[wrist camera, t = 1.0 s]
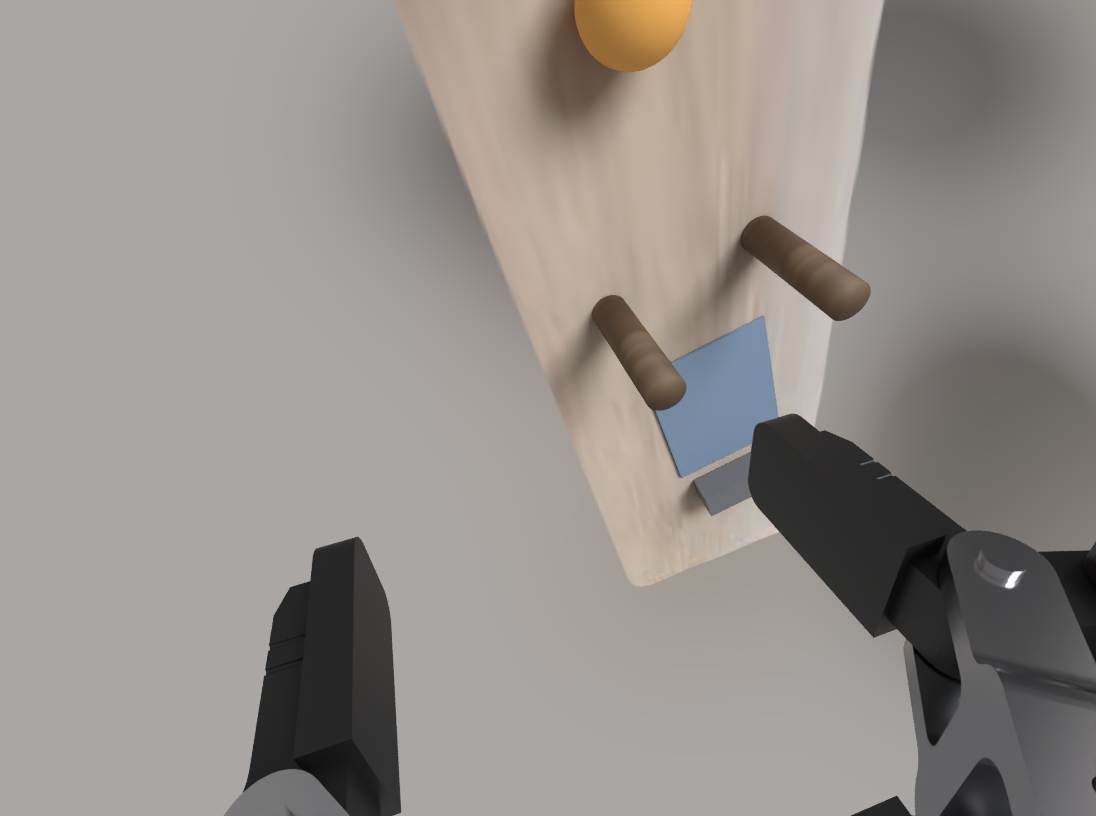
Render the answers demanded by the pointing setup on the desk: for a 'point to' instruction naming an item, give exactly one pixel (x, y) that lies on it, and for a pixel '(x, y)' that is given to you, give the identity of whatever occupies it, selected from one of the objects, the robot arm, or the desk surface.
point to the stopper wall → (725, 485)
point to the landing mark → (721, 398)
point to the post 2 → (806, 268)
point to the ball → (631, 30)
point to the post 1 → (639, 354)
